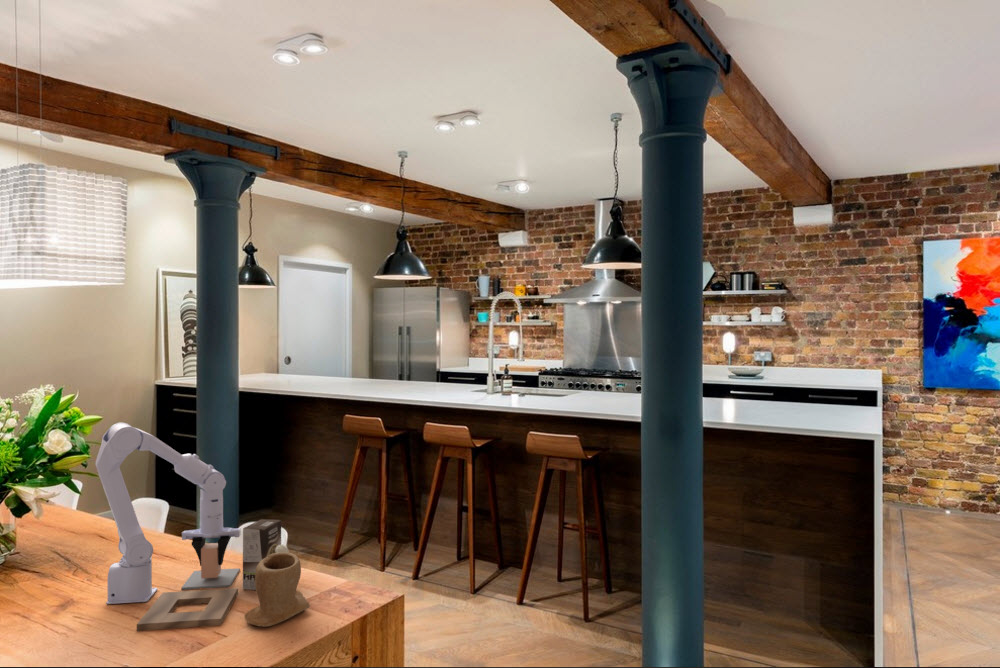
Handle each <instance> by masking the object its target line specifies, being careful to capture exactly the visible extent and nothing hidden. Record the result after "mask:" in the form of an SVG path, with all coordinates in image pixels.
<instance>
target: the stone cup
mask: <svg viewBox="0 0 1000 668" xmlns="http://www.w3.org/2000/svg"><path fill="white" fill-rule="evenodd" d="M301 574H302V565H301V560H300V559H299V556H297V555H296V554H295V553H292V552H289V553H288V552H279V553H273V554H271V555H269V556H267V557H266V558H264V559H263V560H261V561H260V562H259V563H258V565H257V568H256V573H255V587H256V590H255V591H256V594H257V596H258V601H259V605H258V606H255V607H253V608H251V609H250V610H247V612H245V614H244V620H245V621H246V622H247V623H249V624H250V625H253V626H256V627H264V628H265V627H271V626H274V625H277V624H279V623H282V622H284V621H286V620H288V619H290V618H292V617H294V616H296V615H298V614H299V613H302V612H303V611H305V610H308V609H309V608H310V602H309V601H308V600H307V599H306V597H305V596H304V595H303V592H301V591H300V590H297V589H298V586H299V582H300V580H301Z"/></svg>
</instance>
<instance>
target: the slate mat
mask: <svg viewBox="0 0 1000 668" xmlns="http://www.w3.org/2000/svg"><path fill="white" fill-rule="evenodd" d="M240 571H241V568H239V567H238V568H221V572H220V574H219V576H218V577H217V578H203V579H201V570H194V571H193V572H192V573H191V575H190V576H189V577H188V578H187V579H186V581H185V582H184V583H183V585H182V586H181V591H190V590H201V589H200V588H205V589H223V588H231V586H232V584H233V583H234V581H235V579H236V578H237V576H238V574H239V573H240Z"/></svg>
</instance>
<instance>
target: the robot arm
mask: <svg viewBox="0 0 1000 668" xmlns="http://www.w3.org/2000/svg"><path fill="white" fill-rule="evenodd" d="M135 450H137V451H141V452H143V451H150V452H151V453H153V454H154V455H157V456H158V457H160V458H161V459H164V460H166V461H167V462H169V464H170V463H171V464H172V465H173V467H174V472H175V473H176V474H177V475H179V476H181V477H183V478H184V479H186V480H187V481H188V482H191V483H192V484H194V485H197V486H198V488H200V489H199V490H200V494H199V495H200V498H199V528H197V529H189V530H184V531H182V532H181V540H182V541H185V540H192V541H191V546H192V547H193V549H194V551H195V553H196V555H197V558H198V561H199V565H200V566H199V567H201V548H202V547H203V546H204V544H206V541H207V539H211V538H212V539H213V538H214V539H215V538H219V539H218V540H217V543H218V550H219V557H218V564H219V565H221V566H222V565H223V563H224V556H225V554H226V550H227V548H228V545H229V542H230V540H231V539H232V538H240V536H241V528H240V527H239V528H237V527H236V528H234V527H224V491H223V490H224V489H225V487H226V485H227V480H226V478H225V476H224V474H222V472H221V471H218V470H216V469H215V467H214V466H213V465H212V464H207V463H205V462H204V461H202V460H201V459H200V456H199V455H197V454H196V453H193V454H192V453H184V454H181V453H180V452H178V451H176V449H173V448H172V447H171V446H169V445H168V444H167V443H165V442H163V441H162V440H160V439H159V438H158V437H156V436H155V435H153V434H151V433H148V432H146V431H144V430H142V429H140V428H137V427H133V426H132V425H130V424H129V423H126V422H117V423H115V424H112V425H111V426H110V427H109V428H108V429H107V430H106V432H105V433H104V434H103V436H102V439H101V444H100V447H99V449H98V454H97V456H96V459H95V463H94V464H95V467H96V471H97V474H98V476H99V477H98V478H99V479H100V482H101V485H102V488H103V491H104V494H105V497H106V499H107V500H106V501H107V502H108V505H109V508H110V510H111V514H112V516H113V519H114V522H115V526H116V528H117V535H118V537H119V541H118V544H117V545H118V547H117V548H118V550H119V552H120V553H121V554H122V557H121V558H120V560H119V562H115V563H112V564H111V565H110V567H109V569H108V573H107V601H106V605H112V604H114V605H115V604H129V603H130V604H131V603H132V604H133V603H147V602H148V601H149V600H150V599H151V598H152V596H153V595H154V594H155V593H156V592H157V591H158V587H153V585H152V583H153V582H152V581H153V574H152V573H153V572H152V571H153V569H152V566H153V565H152V563H153V562H152V560H153V559H152V556H153V554H154V545H153V544H152V542H150V541H149V540H148V539H147V538H146V537H145V534H144V532H143V529H142V528H141V525H140V522H139V519H138V517H137V514H136V511H135V508H134V505H133V503H132V499H131V497H130V494H129V490H128V488H127V486H126V483H125V480H124V476H123V473H122V471H121V465H122V464H123V462H124V460H125V459H126V458H127V456H129V455H130V454H131V453H132V452H134V451H135Z"/></svg>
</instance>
